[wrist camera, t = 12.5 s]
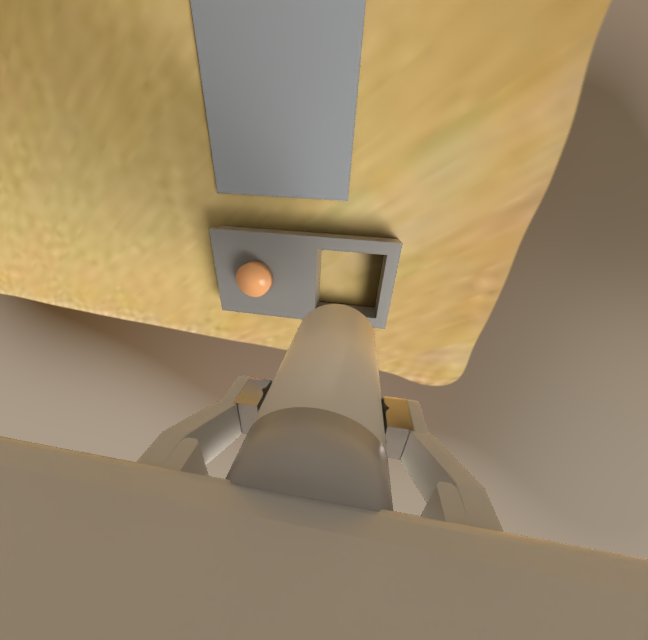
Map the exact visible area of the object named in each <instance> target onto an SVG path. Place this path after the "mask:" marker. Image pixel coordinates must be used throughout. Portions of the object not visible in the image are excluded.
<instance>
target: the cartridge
mask: <svg viewBox="0 0 648 640" xmlns="http://www.w3.org/2000/svg"><path fill="white" fill-rule="evenodd" d="M226 479H227V480H230V481H231V484H236V485H241V486H246V487H252V488H257V489H262V490H267V491H273V492H278V493H283V494H288V495H294V496H299V497H304V498H309V499H315V500H320V501H325V502H330V503H335V504H341V505H346V506H351V507H356V508H362V509H367V510H372V511H377V512H380V510H382V509H385V510H390V511H393V505H392V496H391V485H390V476H389V467H388V457H387V448H386V438H385V429H384V419H383V410H382V400H381V392H380V382H379V372H378V362H377V353H376V344H375V334H374V330H373V327H372V325H371V323H370V322H369V320H368V319H367V318H366V317H365V316H364V315H363V314H362V313H361V312H359V311H358V310H356V309H354V308H352V307H350V306H346V305H341V304H327V305H323V306H320V307H317V308H315V309H314V310H312V311H311V312H309V313H308V314H307V315H306V316H305V318H304V319H303V321H302V322H301V324H300V326H299V328H298V330H297V333H296V335H295V337H294V339H293V341H292V343H291V345H290V347H289V349H288V351H287V353H286V355H285V357H284V359H283V361H282V363H281V366H280V368H279V370H278V372H277V374H276V376H275V378H274V380H273V382H272V384H271V386H270V388H269V390H268V392H267V394H266V396H265V398H264V401H263V403H262V405H261V407H260V409H259V411H258V413H257V415H256V417H255V419H254V421H253V423H252V425H251V427H250V429H249V431H248V434H247V436H246V438H245V440H244V442H243V444H242V446H241V448H240V450H239V452H238V454H237V456H236V458H235V460H234V462H233V464H232V466H231V469H230V471H229V473H228V475H227V477H226Z"/></svg>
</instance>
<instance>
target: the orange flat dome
mask: <svg viewBox="0 0 648 640" xmlns="http://www.w3.org/2000/svg"><path fill="white" fill-rule="evenodd" d="M236 282H237V285H238V287H239V288H240V290H241V291H242V292H243V293H245V294H246V295H248V296H251V297H260V296H262V295H264V294H265V293H266V292H267V291H268V290H269V289H270V288H271V287H272V284H273V275H272V272H271V270H270V269H269V267H268V266H267V265H265V264H264V263H262V262H259V261H251V262H248V263H246V264H245V265H243V266H241V267H240V268H239V269H238V271H237V273H236Z"/></svg>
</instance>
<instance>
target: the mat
mask: <svg viewBox="0 0 648 640" xmlns="http://www.w3.org/2000/svg"><path fill="white" fill-rule="evenodd" d="M190 2H191V9H192V16H193V24H194V31H195V38H196V45H197V52H198V59H199V66H200V73H201V80H202V87H203V94H204V101H205V109H206V116H207V123H208V130H209V137H210V144H211V151H212V158H213V165H214V172H215V179H216V187H217V193H226V194H242V195H259V196H276V197H293V198H309V199H326V200H343V201H348V193H349V182H350V171H351V160H352V149H353V137H354V126H355V115H356V104H357V93H358V82H359V70H360V59H361V48H362V37H363V26H364V15H365V3H366V0H190Z"/></svg>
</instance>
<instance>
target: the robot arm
mask: <svg viewBox="0 0 648 640" xmlns="http://www.w3.org/2000/svg"><path fill="white" fill-rule="evenodd" d="M272 382H273V381H271V380H267V379H261V378H255V377H247V376H242V375H241V376H239V377H238V378H237V379H236V381H235V382H234V384H233V385H232V387H231V388H230V390H229V391H228V392H227V394H226V395H225V397H224V398H223V400H222V401H217V402H215V403H213V404H212V405H210V406H208V407H206V408H204V409H203V410H201V411H199V412H197V413H195V414H194V415H192V416H190V417H188V418H186V419H185V420H183V421H181V422H179V423H177V424H176V425H174V426H172V427H170V428H168V429H167V430H165V431H163V432H162V433H161V434H160V435H159V436H158V437H157V439H156V440H155V441H154V442H153V443H152V444H151V446H150V447H149V448H148V449H147V450H146V451H145V453H144V454H143V455H142V456H141V457H140V458H139V460H138V461H137V462H132V461H127V460H121V459H116V458H111V457H106V456H100V455H95V454H90V453H85V452H79V451H73V450H69V449H63V448H58V447H53V446H48V445H42V444H37V443H32V442H27V441H21V440H17V439H12V438H7V437H2V436H0V640H648V559H644V558H638V557H633V556H627V555H623V554H617V553H612V552H606V551H601V550H596V549H591V548H586V547H580V546H575V545H569V544H564V543H559V542H554V541H549V540H543V539H538V538H532V537H528V536H522V535H517V534H511V533H506V532H504V531H503V529H502V527H501V524H500V522H499V520H498V517H497V516H496V513H495V511H494V508H493V506H492V504H491V501H490V499H489V497H488V494H487V492H486V490H485V488H484V487H483V486H482V485H481V484H480V483H479V482H478V481H477V480H476V479H475V478H474V477H473V476H472V475H471V474H470V472H468V470H467V469H466V468H465V467H464V466H463V465H462V464H461V463H460V462H459V461H458V460H457V459H456V458H455V457H454V456H453V455H452V454H451V453H450V452H449V451H448V450H447V449H446V448H445V447H444V446H443V445H442V444H441V443H440V441H439V440H438V439H436V437H435V436H434V435H433V434H429V433H428V430H427V426H426V423H425V420H424V417H423V413H422V410H421V406H420V403H419V402H418V401H417V400H409V399H400V398H394V397H386V396H383V397H382V399H381V400H382V410H383V419H384V429H385V438H386V448H387V457H388V458H393V459H398V460H400V461H401V463H402V465H403V466H404V468H405V469H406V471H407V472H408V474H409V476H410V477H411V479H412V480H413V482H414V484H415V485H416V487H417V488H418V490H419V491H420V493H421V494H422V496H423V498H424V499H425V501H426V502H427V504H426V506H425V508H424V511H423V512H422V514H421V516H417V515H411V514H406V513H401V512H396V511H390V510H385V509H382V510H380V512H377V511H372V510H367V509H362V508H356V507H351V506H346V505H341V504H335V503H330V502H325V501H320V500H315V499H309V498H304V497H299V496H294V495H288V494H283V493H278V492H273V491H267V490H262V489H257V488H252V487H246V486H241V485H236V484H231V481H230V480H227V479H221V478H216V477H211V476H209V475H208V472H207V469H206V464H207V463H209V462H210V461H211V460H212V459H213V458H214V457H216V456H217V455H218V454H219V453H220V452H222V451H223V450H224V449H225V448H226V447H227V446H228V445H230V444H231V443H232V442H233V441H234V440H236V439H237V438H238V437H239V436H240V435H241V433H244V434H248V431H249V429H250V427H251V425H252V423H253V421H254V419H255V417H256V415H257V413H258V411H259V409H260V407H261V405H262V403H263V401H264V398H265V396H266V394H267V392H268V390H269V388H270V386H271V384H272Z"/></svg>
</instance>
